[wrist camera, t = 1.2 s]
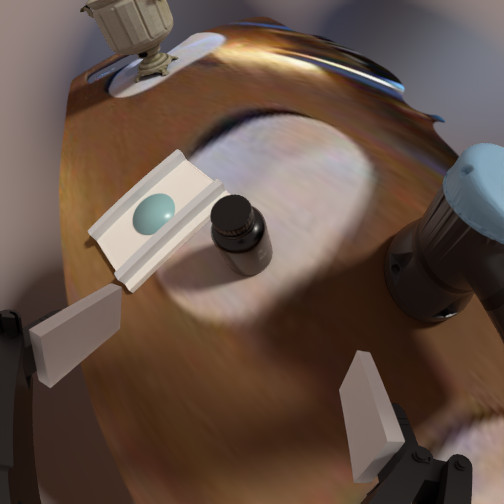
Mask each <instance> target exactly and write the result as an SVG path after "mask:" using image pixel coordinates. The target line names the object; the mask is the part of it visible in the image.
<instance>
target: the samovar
mask: <svg viewBox="0 0 504 504" xmlns="http://www.w3.org/2000/svg"><path fill="white" fill-rule="evenodd" d="M90 8H91V9H93V10H94V11H93V12H92V10H90ZM84 11H87V13H88V15H89V16H91V17H92V18H95V20H96V22H97V24H98V26H99V28H100V30H101V32H102V34H103V35H104V37H105V39H106V41H107V43H108V45H109V47H110V48H111V49H112V50H113V51H114V52H116V53H119V54H129V55H134V54H137V55H138V57H139V58H141V59H144V60H142V61H141V63H140V65H139V67H138V71H139V72H138V76H137V77H136V79H135V82H139V80H140V79H141V77H142V76H144V75H149V74H153V73H155V72H159V73H162V75H163V76H166V75H168V74H169V73H170V72H168V71H167V70H166V69H167V65H168V64H170V62H171V61H172V60H171V59H175V58H176V59H178V57H175V56H170V55H168V54H164V53H158V51H159V50H160V46H159V44H160V43H161V42H162V41H163V40H164V39H165V38H166V37H167V35H168V34H169V32H170V31H171V29H172V26H173V17H172V14H171V12H170V9H169V6H168V3H167V1H166V0H89V1H88V2H87V3H86V6H84V7H83V8H81V10H80V12H84Z"/></svg>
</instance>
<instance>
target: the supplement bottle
mask: <svg viewBox="0 0 504 504" xmlns="http://www.w3.org/2000/svg"><path fill="white" fill-rule="evenodd" d="M210 219H211V222H212V225H211V237H212V240H213V242H214V244H215V246H216V247H217V249H218V250H219V252H220V253H221V255H222V256H223V258H224V259H225V261H226V262H227V264H228V265H229V266H230V268H231V269H232V270H233V271H235V272H236V273H238V274H241V275H247V276H248V275H255V274H258V273H260V272H261V271H263V270H264V269H265V268H266V267H267V266H268V265H269V263H270V261H271V258H272V245H271V241H270V237H269V234H268V230H267V226H266V222H265V219H264V217H263V215H262V214H261V212H260V211H259V210H258V209H256V208H255V207H253V206H251V204H250V203H249V201H248V200H247V199H246V198H244V197H243V196H240V195H227V196H224V197H223V198H220V199H219V200H218V201H217V202H216V203H215V204H214V206H213V207H212V210H211V213H210Z"/></svg>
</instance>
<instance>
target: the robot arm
mask: <svg viewBox="0 0 504 504" xmlns="http://www.w3.org/2000/svg"><path fill="white" fill-rule="evenodd" d="M384 273H385V279H386V283H387V287H388V289H389V292H390V294H391V296H392V297H393V299H394V301H395V302H396V303H397V305H398V306H399V307H400V308H401V309H402V310H403V311H404V312H405V313H407V314H408V315H409V316H411V317H413V318H415V319H417V320H420V321H423V322H429V323H436V322H441V321H444V320H447V319H449V318H451V317H453V316H455V315H457V314H458V313H459V312H461V311H462V310H463V309H464V308H465V307H466V305H467V304H468V303H469V301H470V300H471V298H472V296H473V295H474V293H475V294H476V296H477V297H478V299H479V300H480V302H481V303H482V305H483V307H484V309H485V310H486V312H487V314H488V316H489V317H490V319H491V321H492V323H493V324H494V326H495V328H496V330H497V332H498V333H499V335H500V337H501V339H502V341H503V343H504V147H500V146H498V145H495V144H489V143H481V144H476V145H473V146H471V147H469V148H467V149H466V150H465V151H464V152H463V153H462V154H461V155H460V156H459V158H458V160H457V161H456V163H455V164H454V166H453V167H452V168H451V169H449V170H448V172H447V174H446V176H445V177H444V181H443V184H442V185H441V187H440V189H439V190H438V192H437V194H436V196H435V197H434V199H433V201H432V202H431V204H430V206H429V207H428V209H427V210H426V212H425V214H424V215H423V217H422V218H420V219H418V220H416V221H414V222H412V223H410V224H408V225H406V226H405V227H403V228H402V229H401V230H400V231H399V232H398V233H397V235H396V236H395V237H394V239H393V241H392V242H391V244H390V246H389V248H388V250H387V253H386V257H385V262H384ZM121 295H122V287H121V286H118V285H115V284H112V283H110V284H109V285H107V286H105V287H103V288H101V289H99V290H98V291H96V292H94V293H92V294H90V295H88V296H87V297H85V298H83V299H81V300H79V301H78V302H76V303H74V304H72V305H71V306H69V307H67V308H65V309H64V310H56V311H53V312H50V313H48V314H46V315H45V316H43V317H41V318H40V319H39V320H36V321H34V322H32V323H31V324H29V325H27V326H25V327H24V328H22V322H21V315H20V314H19V313H18V312H17V311H15V310H3V311H0V504H41V500H40V495H39V489H38V484H37V476H36V468H35V459H34V446H33V427H32V394H33V393H32V392H33V377H32V374H33V373H34V372H35V371H37V374H38V378H39V381H41V382H42V383H43V384H45V385H47V386H48V387H49V388H51V387H52V386H54V384H56V383H57V382H58V381H59V380H61V379H62V378H63V377H64V376H65V375H66V374H67V373H69V372H70V371H71V370H72V369H73V368H74V367H76V366H77V365H78V364H79V363H80V362H81V361H83V360H84V359H85V358H86V357H87V356H89V355H90V354H91V353H92V352H93V351H94V350H96V349H97V348H98V347H99V346H100V345H102V344H103V343H104V342H105V341H106V340H108V339H109V338H110V337H111V336H112V335H114V334H115V333H116V332H117V331H118V330H120V317H121ZM339 392H340V398H341V403H342V409H343V414H344V420H345V426H346V432H347V438H348V445H349V451H350V458H351V465H352V472H353V479H354V483H371V482H372V481H373V479H374V478H375V477H376V476H377V475H378V479H379V483H378V484H377V485H376V486H375V487H374V488H373V489H372V490H371V491H370V492H369V493H368V494H367V497H366V498H365V499H364V500H363V501H362V502H361V504H411V503H412V504H471V497H472V464H471V462H470V460H469V459H468V458H467V457H465V456H463V455H459V454H456V455H453V456H451V457H450V458H449V459H448V461H447V462H445V461H440V460H436V459H433V456H432V454H431V453H430V451H429V450H427V449H426V448H424V447H421V446H418V443H417V441H416V438H415V436H414V433H413V431H412V428H411V426H410V423H409V421H408V420H407V416H406V414H405V411H404V410H403V409H402V408H401V407H400V405H399V404H396V403H391V402H390V400H389V397H388V395H387V392H386V390H385V387H384V385H383V382H382V380H381V377H380V375H379V373H378V370H377V368H376V365H375V363H374V361H373V358H372V356H371V354H370V352H364V351H359V350H357V352H356V354H355V357H354V359H353V361H352V363H351V366H350V368H349V370H348V372H347V374H346V376H345V379H344V381H343V383H342V385H341V387H340V389H339Z"/></svg>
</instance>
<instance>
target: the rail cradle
mask: <svg viewBox="0 0 504 504" xmlns="http://www.w3.org/2000/svg"><path fill="white" fill-rule="evenodd" d="M227 195H231V194H229V193H228V192H227V191H226V190H225V188H224V185H223V183H222V182H221V181H219V180H218V179H215V180H214V181H213V180H212V179H210V178H209V177H208V176H206V175H205V174H204V173H203V172H201V171H200V170H199V169H197V168H196V167H195V166H193V165H192V164H191V163H190V162H188V161H187V160H186V159H185V157H184V155H183V153H182V152H181V151H179V150H178V149H177V150H176V151H175V152H174V153H172V154H171V155H170V156H169V157H167V158H166V159H165V160H164V161H163V162H161V163H160V164H159V165H158V166H157V167H155V168H154V169H153V170H152V171H151V172H150V173H148V174H147V175H146V176H145V177H144V178H143V179H142V180H140V181H139V182H138V183H137V184H136V185H135V186H134V187H133V188H131V189H130V190H129V191H128V192H127V193H126V194H125V195H124V196H123V197H122V198H121V199H120V200H118V201H117V202H116V203H115V204H114V205H113V206H112V207H111V208H110V209H109V210H108V211H107V212H106V213H105V214H104V215H103V216H102V217H101V218H100V219H99V220H98V221H97V222H96V223H95V224H94V225H93V226H92V227H91V228H90V229H89V230H88V232H89V234H90V236H91V237H93V238H94V239H95V240H96V241H97V242H98V244H99V245H100V247H101V249H102V250H103V252H104V253H105V255H106V257H107V258H108V260H109V261H110V263H111V264H112V266H113V267H114V269H115V270H116V272H115V273H114V275H115V276H116V278H117V279H118V280H119V281H120V282H122V283H124V284H125V285H126V287H127V288H128V290H129V291H131V292H132V293H134V292H135V291H136V290H137V289H138V288H139V287H140V286H141V285H142V284H143V283H144V282H145V281H146V280H147V279H148V278H149V277H150V276H151V275H152V274H153V273H154V272H155V271H156V270H157V269H158V268H159V267H160V266H161V265H162V264H163V263H164V262H165V261H166V260H168V259H169V258H170V257H171V256H172V255H173V254H174V253H175V252H176V251H177V250H178V249H179V248H180V247H181V246H182V245H183V244H184V243H186V242H187V241H188V240H189V239H190V238H191V237H192V236H193V235H194V234H195V233H196V232H197V231H198V230H200V229H201V228H202V227H203V226H204V225H205V224H206V223H207V222H208V221H209V220H211V219H210V213H211V210H212V207H213V206H214V204H215V203H216V202H217V201H218V200H219V199H220V198H223V197H224V196H227Z"/></svg>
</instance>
